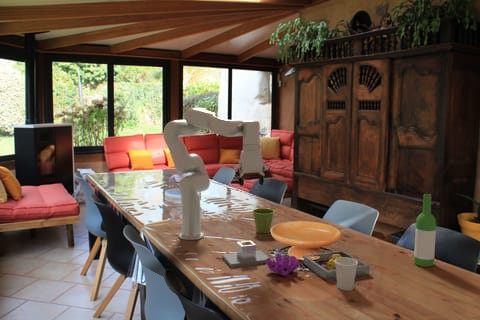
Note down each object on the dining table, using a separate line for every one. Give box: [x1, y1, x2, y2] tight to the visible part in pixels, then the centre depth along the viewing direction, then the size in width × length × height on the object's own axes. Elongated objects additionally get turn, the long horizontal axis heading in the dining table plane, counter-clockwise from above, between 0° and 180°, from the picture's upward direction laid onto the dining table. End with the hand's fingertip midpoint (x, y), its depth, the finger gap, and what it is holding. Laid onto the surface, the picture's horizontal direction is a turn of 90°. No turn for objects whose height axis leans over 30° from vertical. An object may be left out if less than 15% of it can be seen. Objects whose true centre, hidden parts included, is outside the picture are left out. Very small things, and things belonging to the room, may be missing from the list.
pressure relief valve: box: [326, 254, 341, 270], centre depth 174 cm, size 6×12×10 cm
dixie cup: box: [334, 257, 358, 291], centre depth 157 cm, size 8×8×10 cm
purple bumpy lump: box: [265, 254, 302, 277], centre depth 171 cm, size 11×15×10 cm
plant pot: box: [251, 207, 276, 234], centre depth 227 cm, size 12×12×11 cm
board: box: [221, 249, 270, 268], centre depth 185 cm, size 12×18×6 cm, turn 109°
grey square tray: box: [302, 250, 371, 282], centre depth 176 cm, size 19×19×4 cm
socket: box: [236, 240, 257, 260], centre depth 185 cm, size 6×6×6 cm
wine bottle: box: [413, 193, 437, 268], centre depth 179 cm, size 8×8×30 cm
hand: (251, 185), depth 196 cm, fingers open, 9 cm apart
